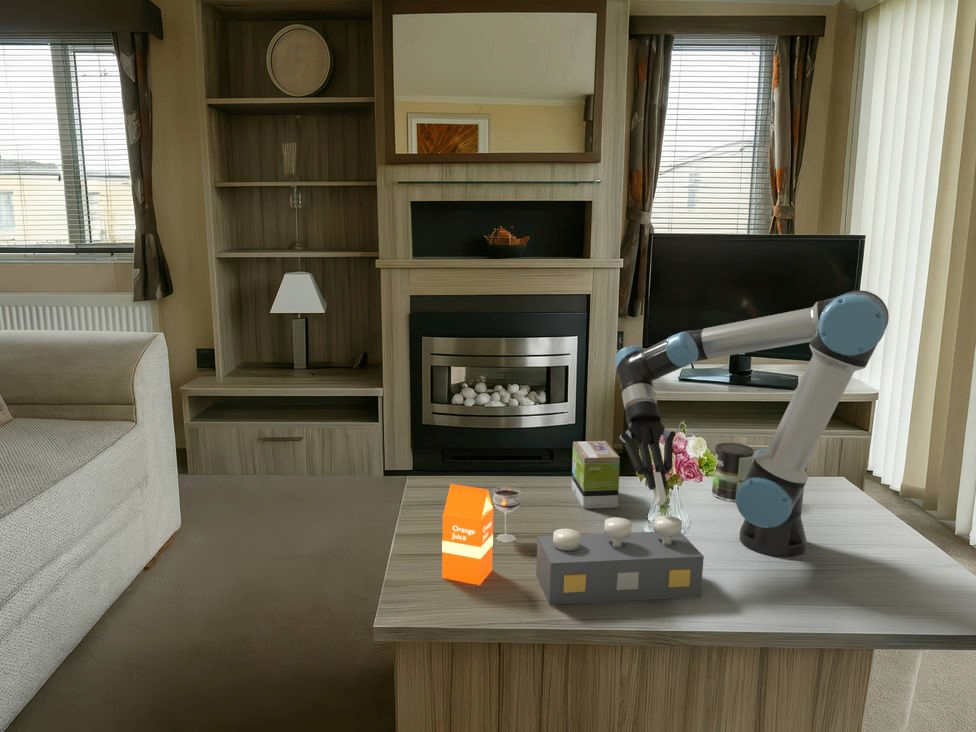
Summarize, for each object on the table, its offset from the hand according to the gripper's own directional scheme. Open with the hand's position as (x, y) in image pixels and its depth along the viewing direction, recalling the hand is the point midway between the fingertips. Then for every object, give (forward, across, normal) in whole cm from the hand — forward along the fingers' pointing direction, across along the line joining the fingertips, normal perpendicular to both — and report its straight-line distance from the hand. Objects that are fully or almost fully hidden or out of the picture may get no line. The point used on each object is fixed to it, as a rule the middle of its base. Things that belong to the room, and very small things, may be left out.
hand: (661, 502), depth 162 cm
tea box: (-20, +2, -45) cm, 50 cm away
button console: (+15, +10, -9) cm, 20 cm away
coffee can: (-20, -38, -45) cm, 62 cm away
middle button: (+9, +10, -5) cm, 15 cm away
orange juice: (+9, +41, -15) cm, 45 cm away
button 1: (+11, +21, -7) cm, 25 cm away
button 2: (+9, -1, -6) cm, 11 cm away
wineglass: (-3, +30, -28) cm, 41 cm away
